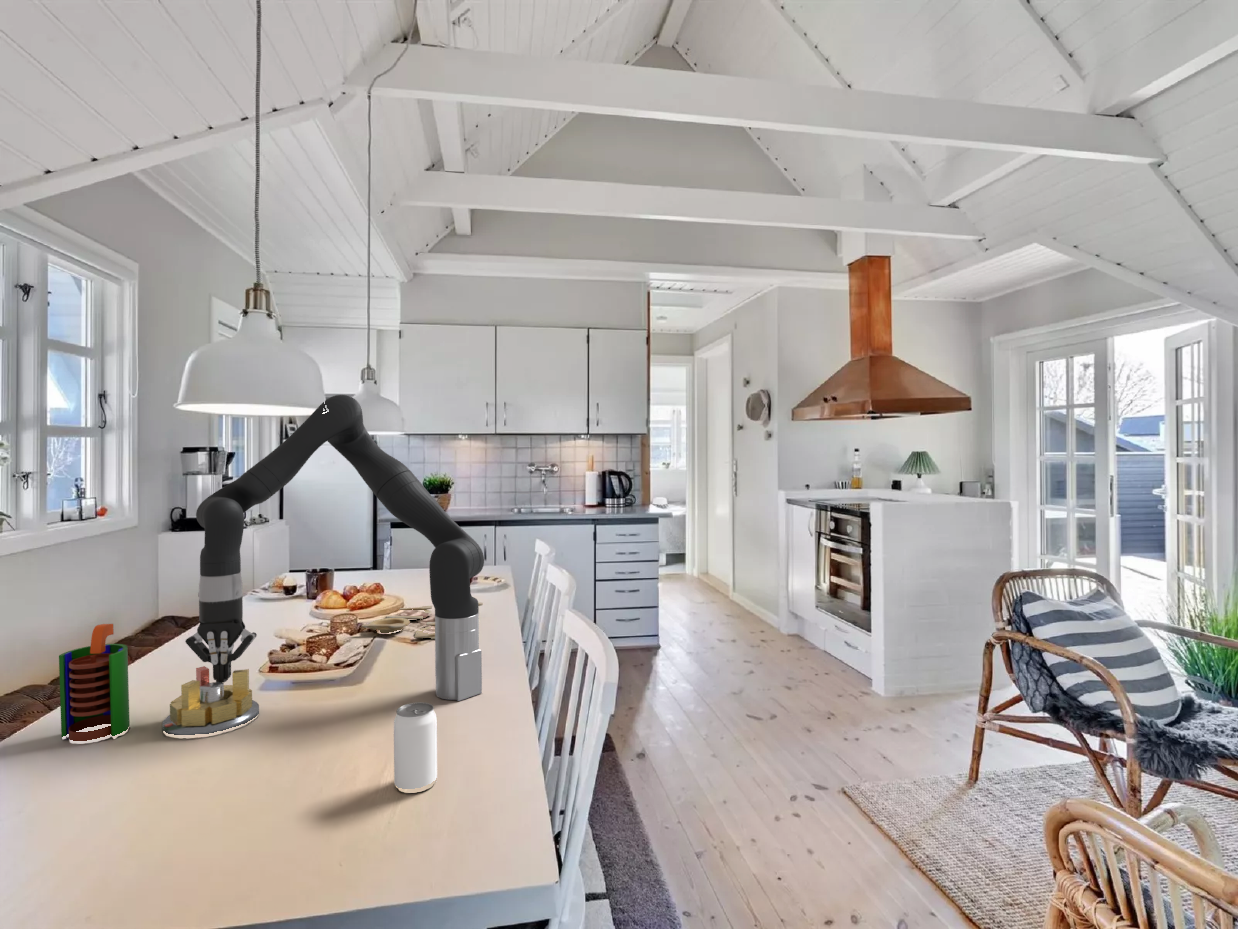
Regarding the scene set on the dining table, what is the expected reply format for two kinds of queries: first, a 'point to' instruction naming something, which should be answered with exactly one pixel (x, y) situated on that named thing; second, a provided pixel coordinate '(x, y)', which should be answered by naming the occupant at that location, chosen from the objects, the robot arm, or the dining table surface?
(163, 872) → the dining table surface
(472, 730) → the dining table surface
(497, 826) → the dining table surface
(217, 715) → the wooden blocks on tray
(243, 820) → the dining table surface
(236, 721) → the rotating turntable
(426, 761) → the can
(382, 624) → the tableware set
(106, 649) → the motor
